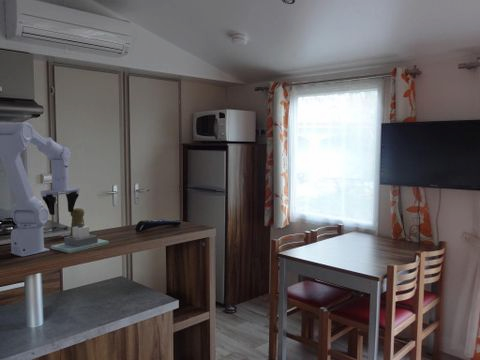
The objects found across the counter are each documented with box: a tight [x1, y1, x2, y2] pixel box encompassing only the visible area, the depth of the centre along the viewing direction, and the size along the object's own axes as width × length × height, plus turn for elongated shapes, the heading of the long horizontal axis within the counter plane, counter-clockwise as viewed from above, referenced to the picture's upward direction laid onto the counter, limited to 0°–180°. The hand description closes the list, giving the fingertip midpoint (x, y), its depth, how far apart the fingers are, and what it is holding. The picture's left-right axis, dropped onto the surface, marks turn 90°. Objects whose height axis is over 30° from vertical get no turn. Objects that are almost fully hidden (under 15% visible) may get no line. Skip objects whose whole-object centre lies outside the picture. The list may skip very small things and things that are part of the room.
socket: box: [50, 233, 110, 254], centre depth 145 cm, size 16×11×4 cm
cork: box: [69, 207, 86, 236], centre depth 162 cm, size 6×6×11 cm
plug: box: [72, 222, 90, 239], centre depth 144 cm, size 4×4×8 cm
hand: (61, 213), depth 154 cm, fingers open, 7 cm apart
